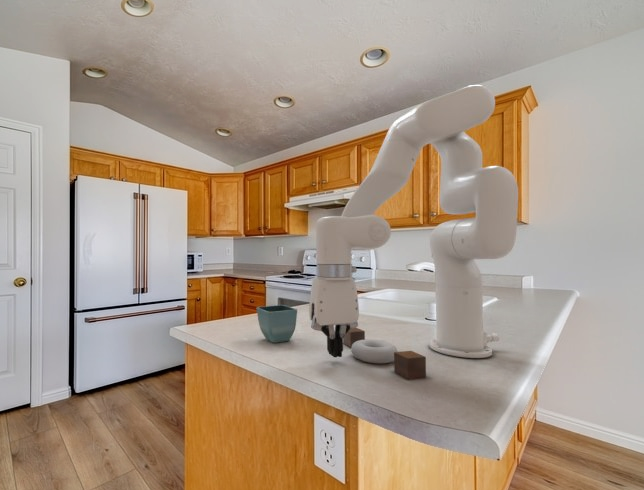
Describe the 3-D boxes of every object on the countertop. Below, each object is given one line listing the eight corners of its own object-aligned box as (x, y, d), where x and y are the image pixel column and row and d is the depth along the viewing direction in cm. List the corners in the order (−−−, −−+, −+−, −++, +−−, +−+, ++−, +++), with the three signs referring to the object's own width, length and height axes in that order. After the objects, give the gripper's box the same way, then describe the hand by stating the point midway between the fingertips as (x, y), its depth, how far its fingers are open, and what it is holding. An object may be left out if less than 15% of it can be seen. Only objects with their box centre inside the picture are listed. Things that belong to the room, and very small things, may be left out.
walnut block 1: (356, 342, 85) (356, 327, 85) (365, 346, 81) (364, 331, 81) (343, 343, 84) (342, 328, 84) (350, 347, 80) (350, 332, 80)
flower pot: (269, 346, 83) (268, 311, 83) (256, 338, 91) (255, 306, 91) (298, 342, 86) (298, 309, 86) (283, 334, 94) (283, 304, 94)
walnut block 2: (411, 370, 65) (411, 350, 65) (426, 377, 61) (425, 356, 61) (394, 372, 64) (393, 352, 64) (408, 379, 60) (407, 358, 60)
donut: (353, 365, 68) (403, 367, 66) (352, 349, 68) (402, 350, 66) (349, 351, 78) (393, 352, 76) (348, 337, 78) (392, 338, 76)
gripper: (355, 270, 76) (356, 348, 76) (296, 272, 73) (297, 352, 72) (374, 272, 68) (375, 358, 68) (308, 274, 65) (309, 363, 65)
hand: (335, 355), depth 70 cm, fingers closed
